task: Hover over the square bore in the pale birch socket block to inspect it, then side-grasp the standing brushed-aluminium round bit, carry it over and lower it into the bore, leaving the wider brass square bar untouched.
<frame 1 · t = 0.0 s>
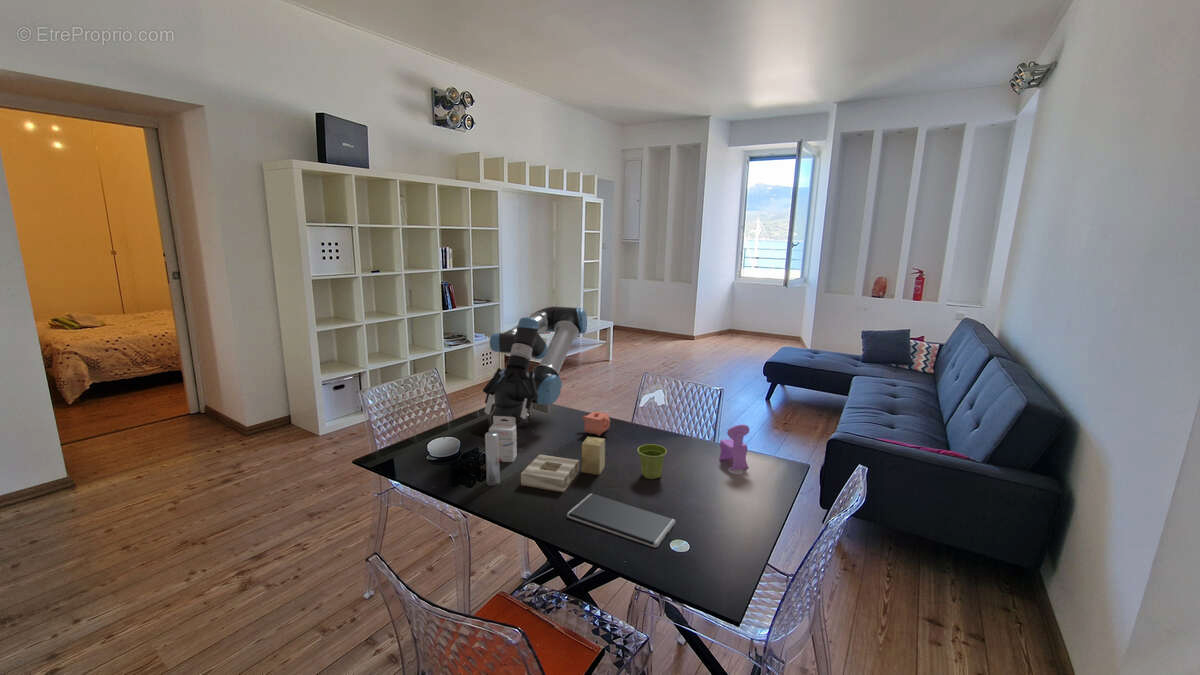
hand: (504, 415, 167), 15 cm above the table, tool tilted 35°, fingers open, 13 cm apart
pink cube teapot: (595, 432, 194), on the table
smartphone: (620, 522, 133), on the table
round bit: (493, 482, 153), on the table
toy chair: (732, 464, 167), on the table
square bar: (593, 469, 162), on the table
socket block: (550, 478, 156), on the table
plant pot: (651, 475, 158), on the table
ink cartridge box: (503, 459, 169), on the table
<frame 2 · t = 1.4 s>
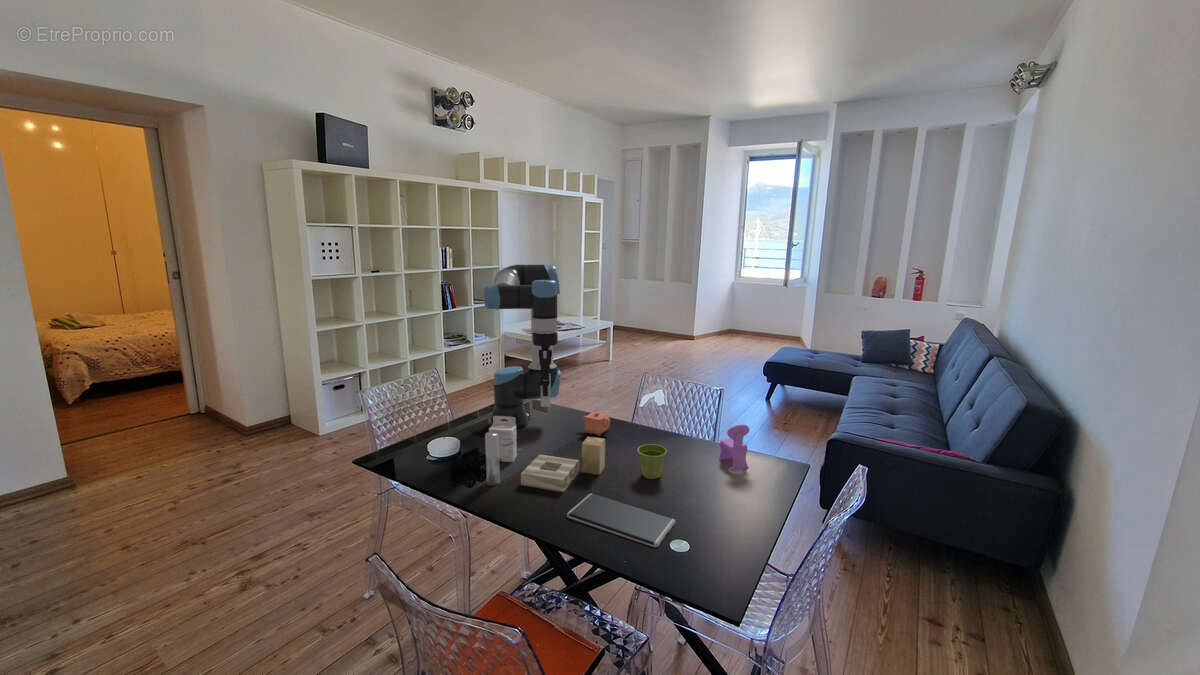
hand: (546, 399, 151), 26 cm above the table, tool pointing down, fingers open, 13 cm apart
nothing on the table moved.
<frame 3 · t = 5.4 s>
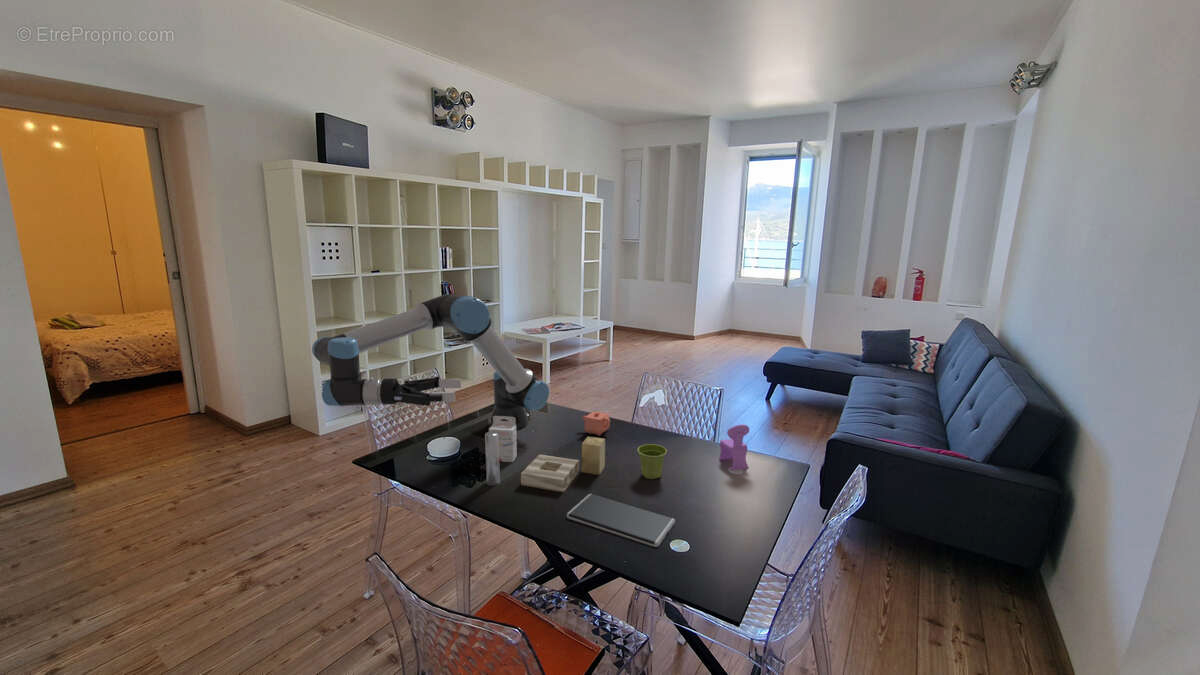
hand: (458, 389, 145), 30 cm above the table, tool horizontal, fingers open, 13 cm apart
nothing on the table moved.
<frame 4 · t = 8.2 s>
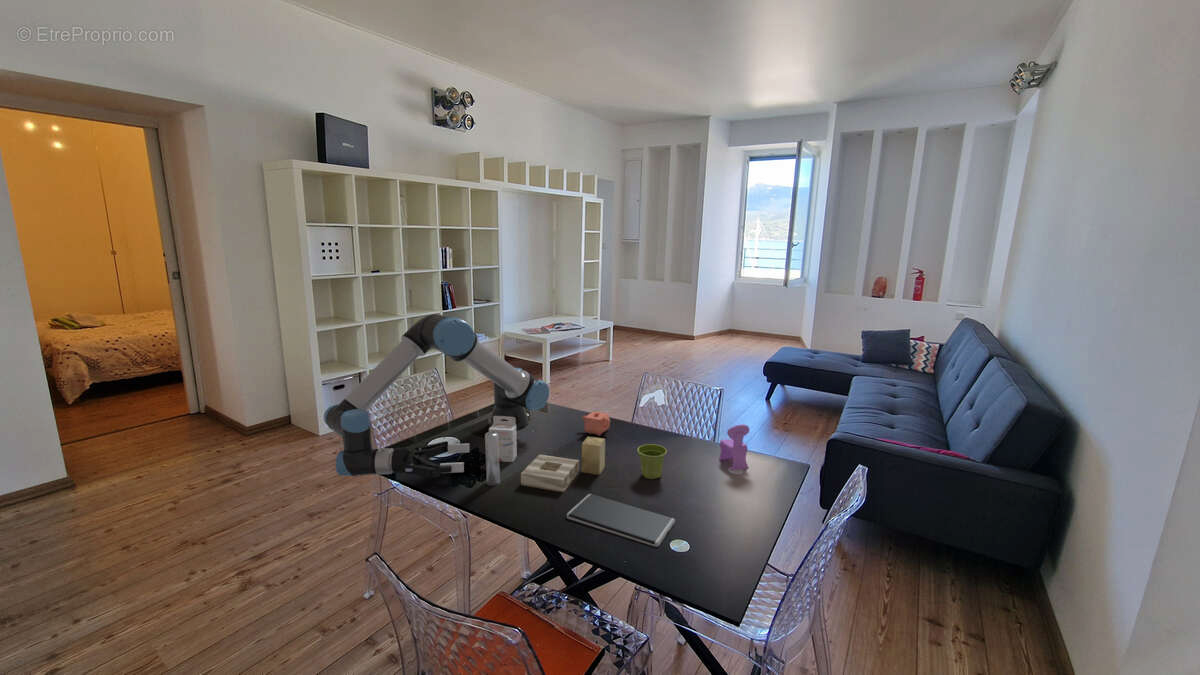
hand: (466, 457, 150), 9 cm above the table, tool horizontal, fingers open, 13 cm apart
nothing on the table moved.
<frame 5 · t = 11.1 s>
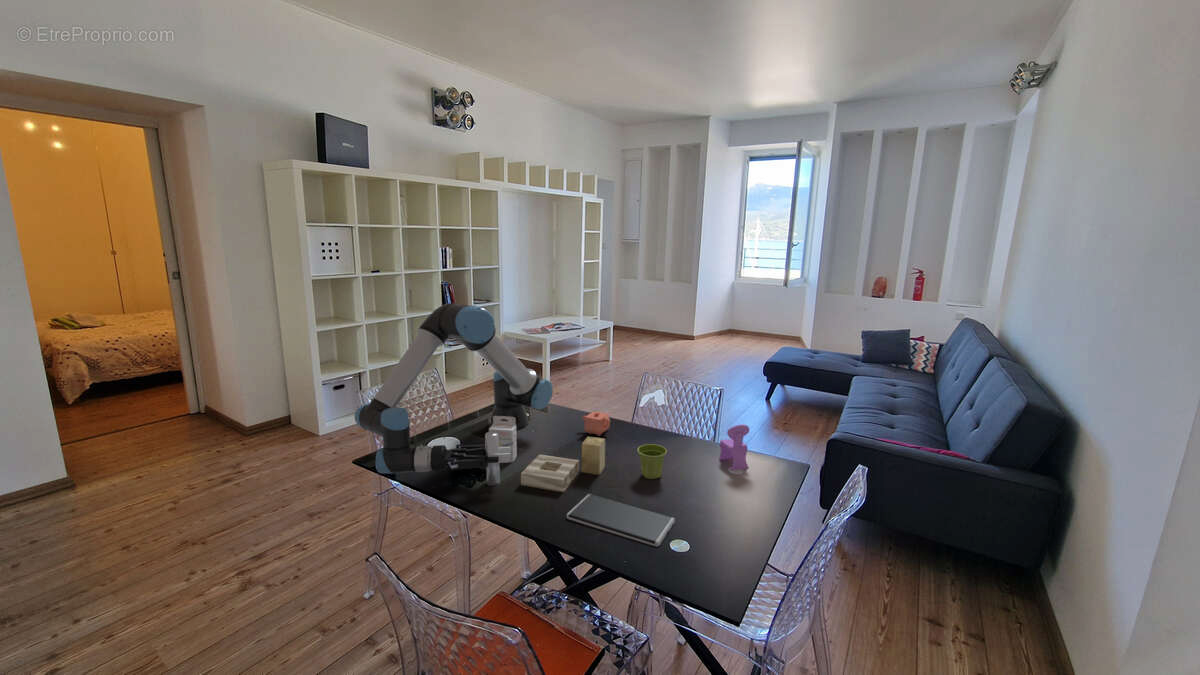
hand: (510, 454, 152), 9 cm above the table, tool horizontal, fingers closed on round bit, 4 cm apart
round bit: (493, 482, 153), on the table, touching gripper
everything else where it was.
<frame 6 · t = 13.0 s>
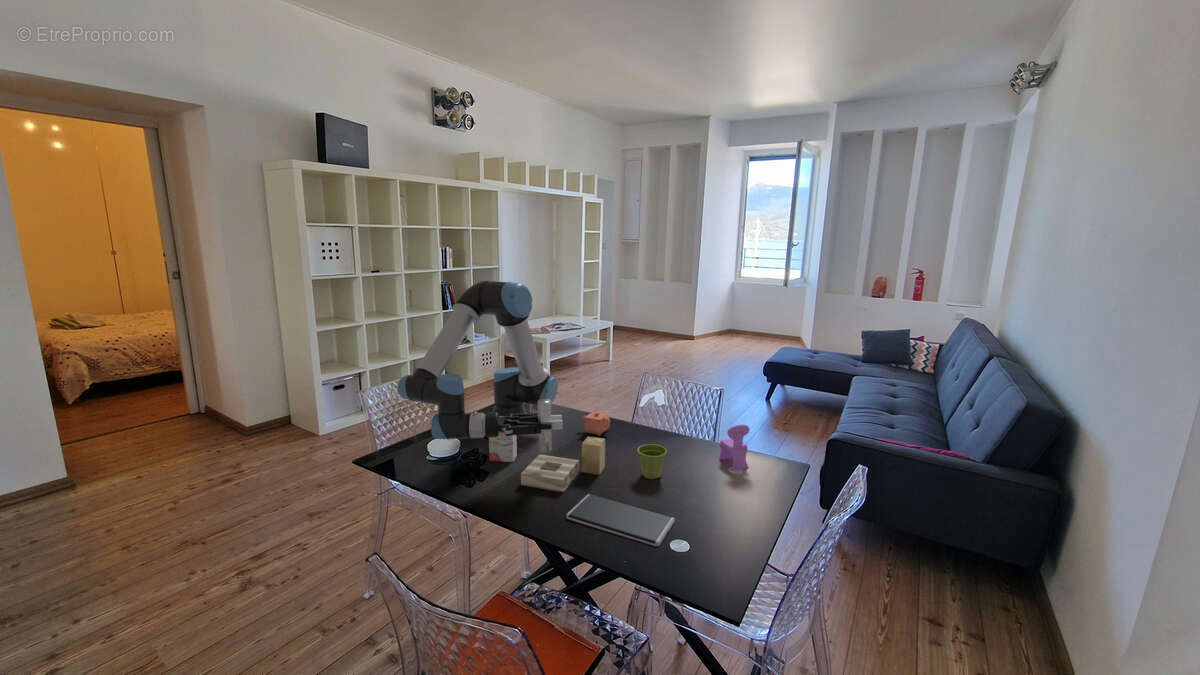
hand: (562, 422, 152), 19 cm above the table, tool horizontal, fingers closed on round bit, 4 cm apart
round bit: (545, 450, 153), point 10 cm above the table, touching gripper
everything else where it was.
when the fingers open (11 cm above the table, at t = 15.4 s): round bit stays where it is, resting on socket block.
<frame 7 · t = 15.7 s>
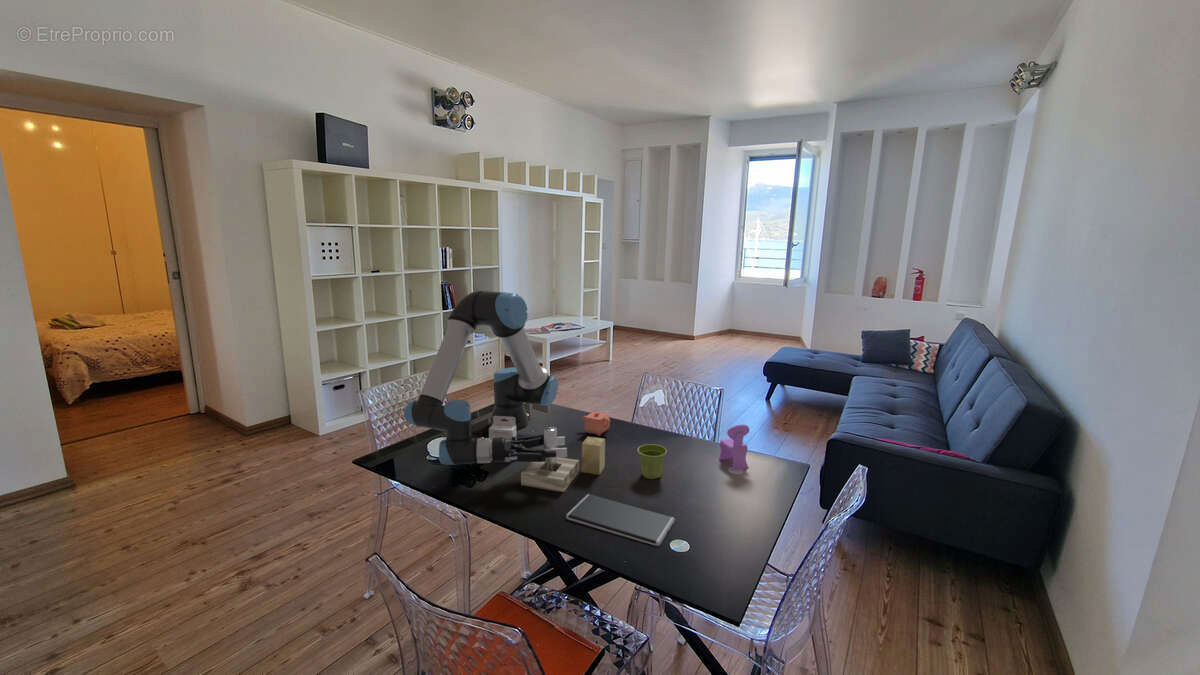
hand: (565, 446, 154), 11 cm above the table, tool horizontal, fingers open, 8 cm apart
round bit: (550, 476, 155), point 1 cm above the table, touching socket block
everything else where it was.
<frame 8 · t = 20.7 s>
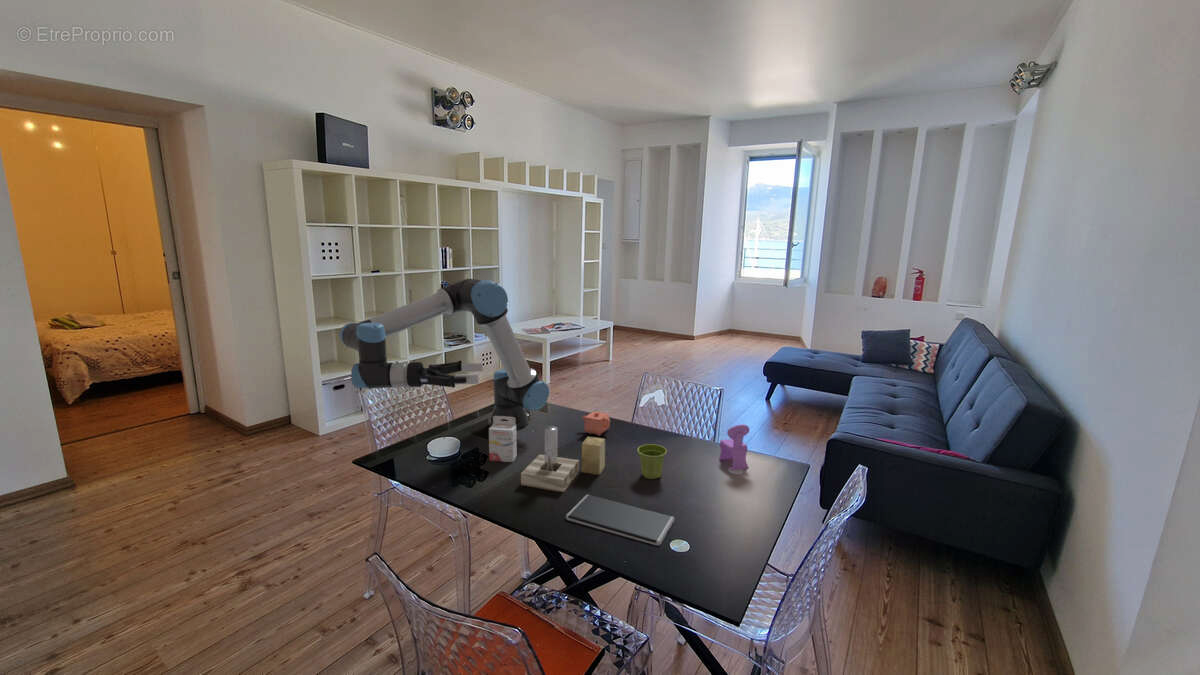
hand: (480, 372, 151), 34 cm above the table, tool horizontal, fingers open, 13 cm apart
nothing on the table moved.
at the end: round bit 0.0 cm off-centre on the socket block, point 0.5 cm above the socket block's base; round bit tilted 1°; the gripper is holding nothing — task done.
